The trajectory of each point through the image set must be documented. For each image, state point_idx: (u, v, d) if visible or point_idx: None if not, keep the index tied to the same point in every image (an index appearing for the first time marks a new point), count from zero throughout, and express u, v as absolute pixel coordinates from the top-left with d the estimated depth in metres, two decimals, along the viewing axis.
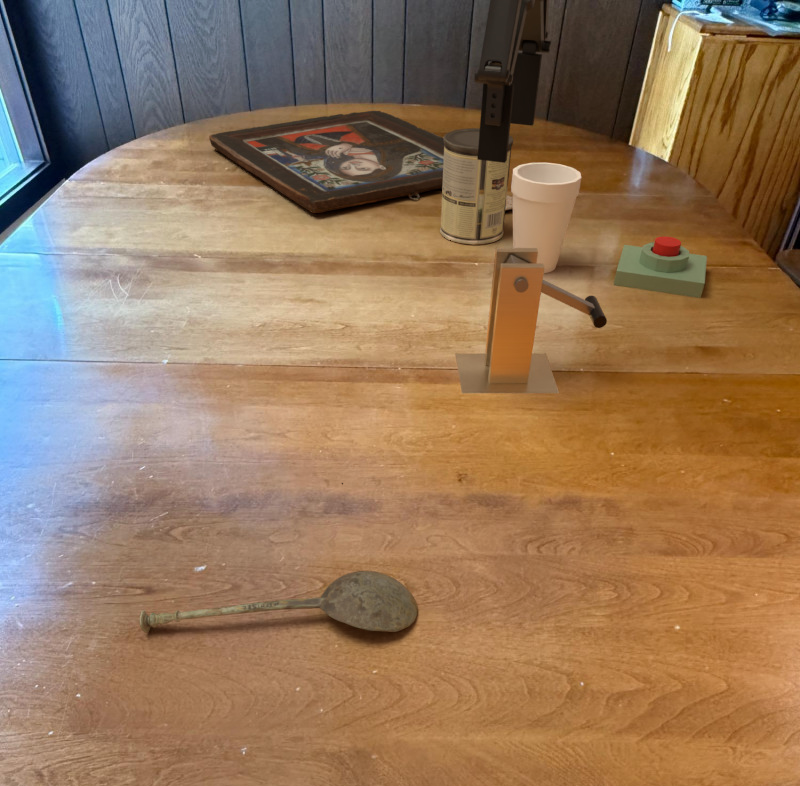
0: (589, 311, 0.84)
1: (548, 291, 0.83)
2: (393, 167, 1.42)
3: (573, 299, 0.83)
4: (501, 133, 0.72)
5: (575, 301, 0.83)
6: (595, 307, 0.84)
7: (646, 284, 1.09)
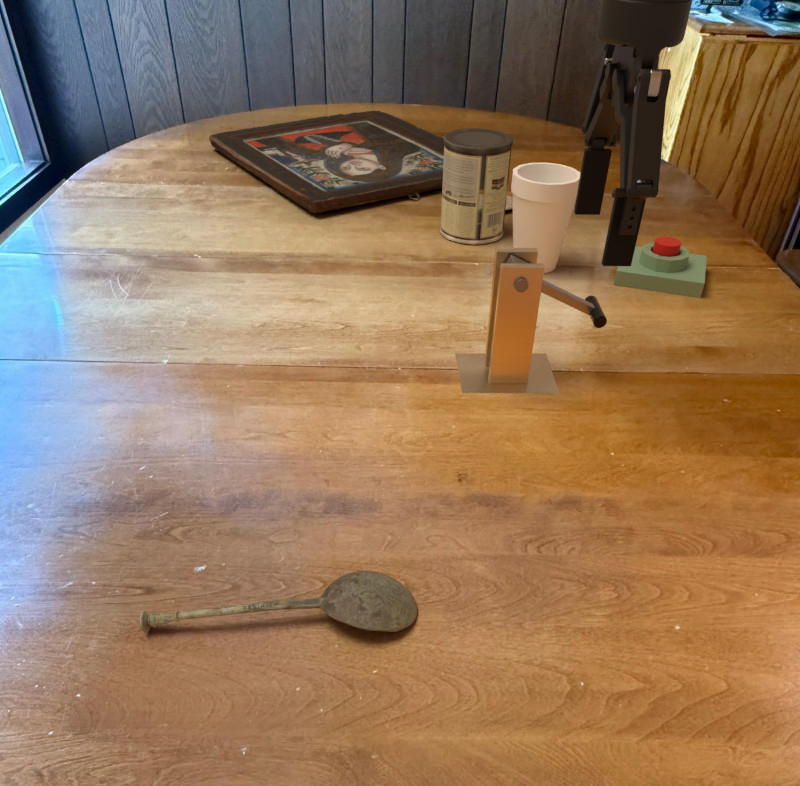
0: (589, 311, 0.84)
1: (548, 291, 0.83)
2: (393, 166, 1.42)
3: (573, 299, 0.83)
4: (630, 240, 0.73)
5: (575, 301, 0.83)
6: (595, 307, 0.84)
7: (646, 284, 1.09)
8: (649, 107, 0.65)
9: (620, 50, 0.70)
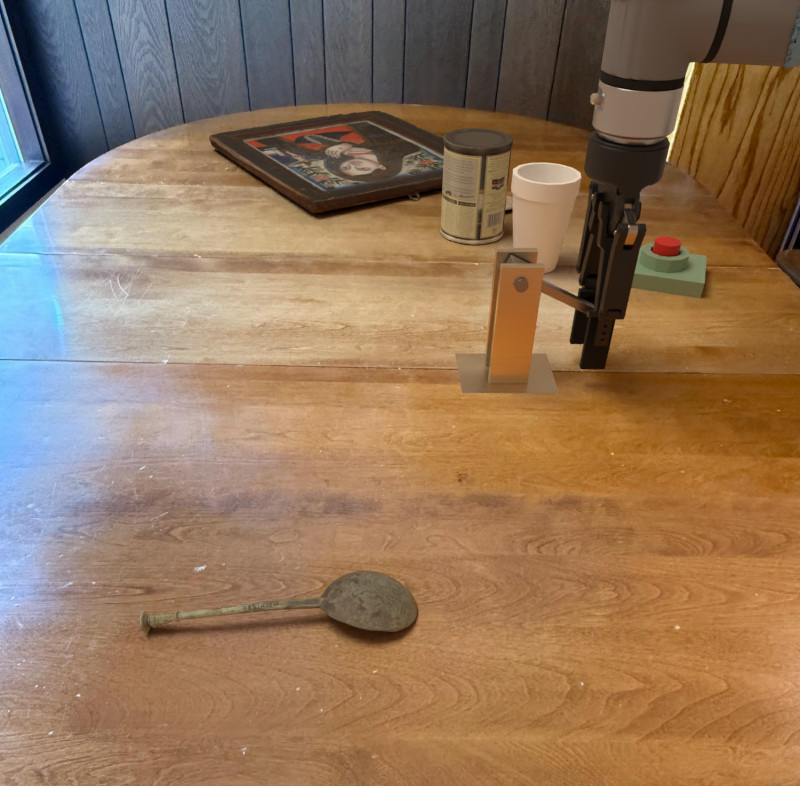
0: None
1: (548, 291, 0.83)
2: (393, 166, 1.42)
3: (573, 299, 0.83)
4: (603, 349, 0.84)
5: (575, 301, 0.83)
6: None
7: (646, 284, 1.09)
8: (624, 254, 0.74)
9: None
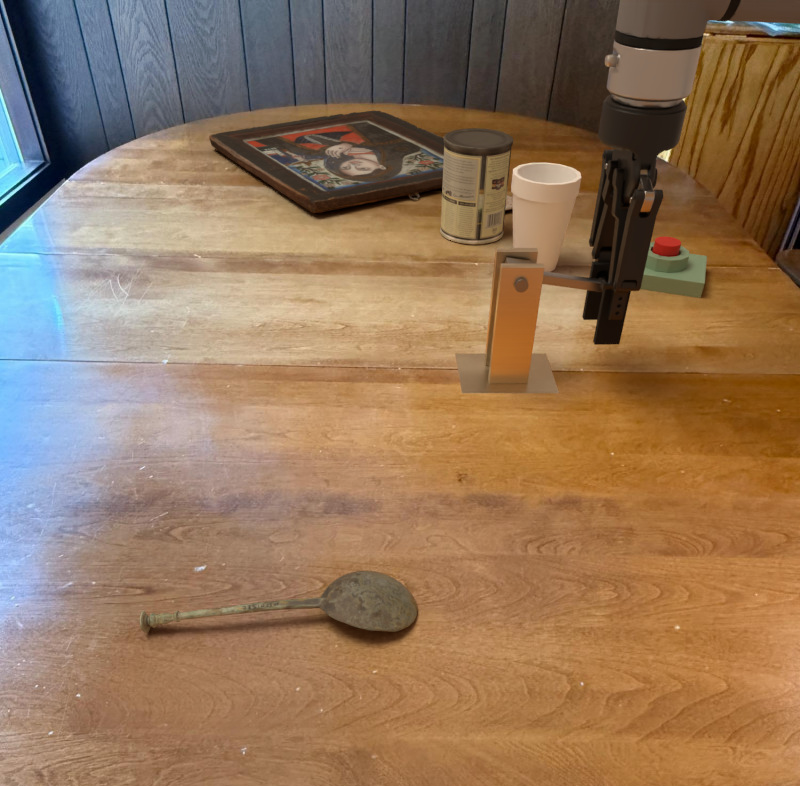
0: None
1: (552, 281, 0.82)
2: (393, 166, 1.42)
3: (581, 281, 0.82)
4: (618, 323, 0.82)
5: (584, 283, 0.82)
6: None
7: (646, 284, 1.09)
8: (640, 221, 0.72)
9: None
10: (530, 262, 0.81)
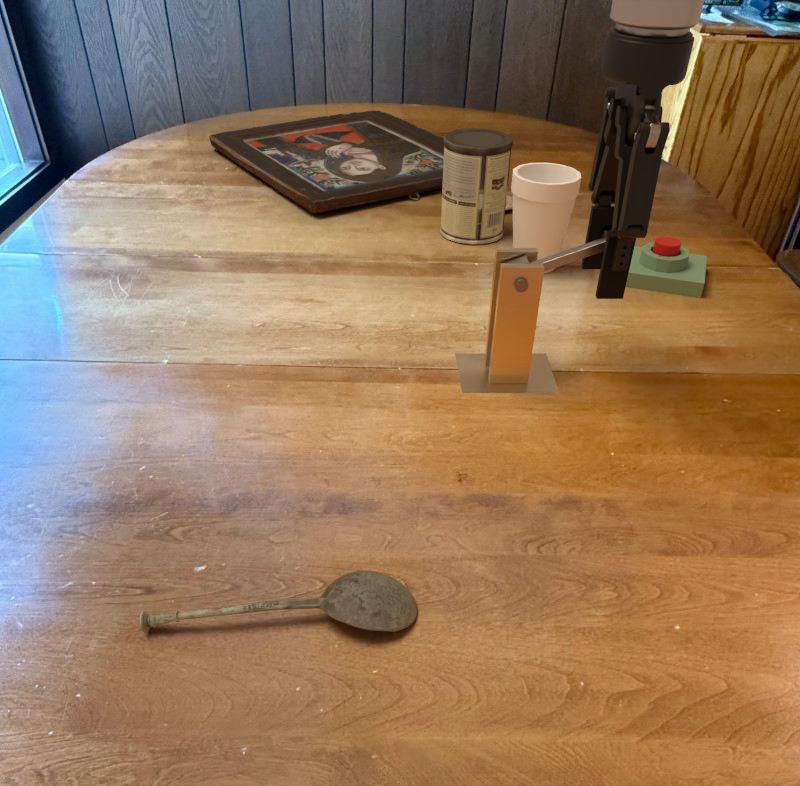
0: None
1: (553, 264, 0.81)
2: (393, 166, 1.42)
3: (581, 251, 0.80)
4: (622, 275, 0.78)
5: (585, 251, 0.80)
6: None
7: (646, 284, 1.09)
8: (646, 158, 0.68)
9: (623, 86, 0.71)
10: (524, 257, 0.81)
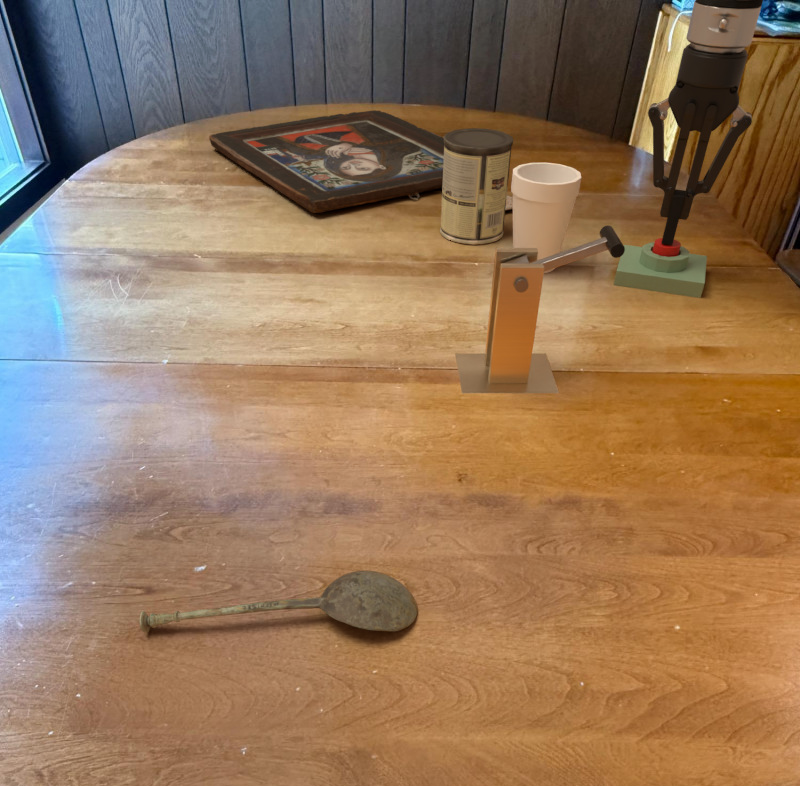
0: (605, 246, 0.79)
1: (553, 264, 0.81)
2: (393, 166, 1.42)
3: (581, 251, 0.80)
4: None
5: (585, 251, 0.80)
6: (607, 240, 0.79)
7: (646, 284, 1.09)
8: None
9: (694, 92, 0.96)
10: (524, 257, 0.81)
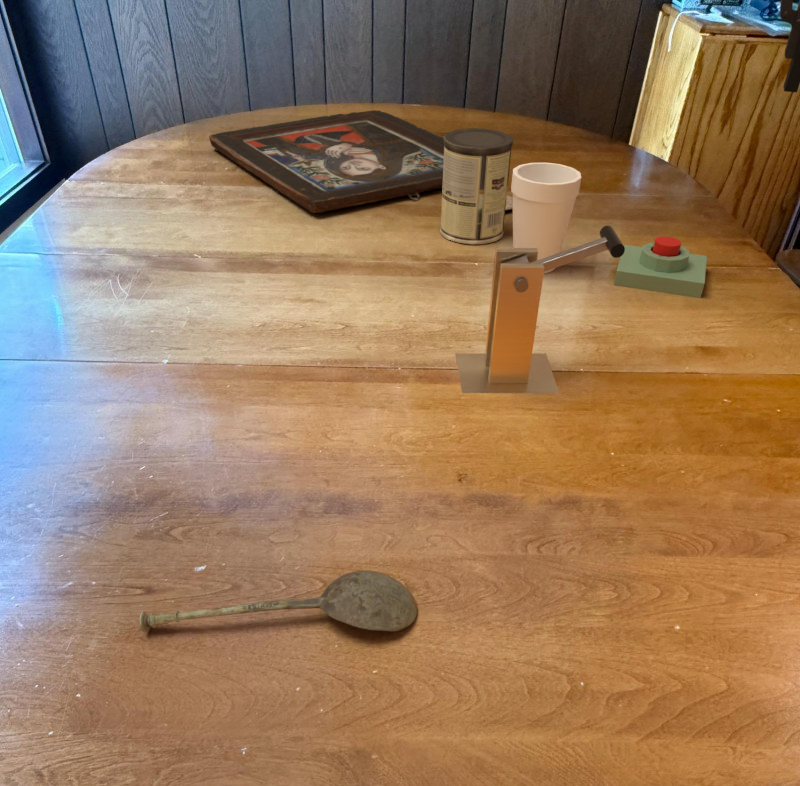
0: (605, 246, 0.79)
1: (553, 264, 0.81)
2: (393, 166, 1.42)
3: (581, 251, 0.80)
4: None
5: (585, 251, 0.80)
6: (607, 240, 0.79)
7: (646, 284, 1.09)
8: None
9: None
10: (524, 257, 0.81)
